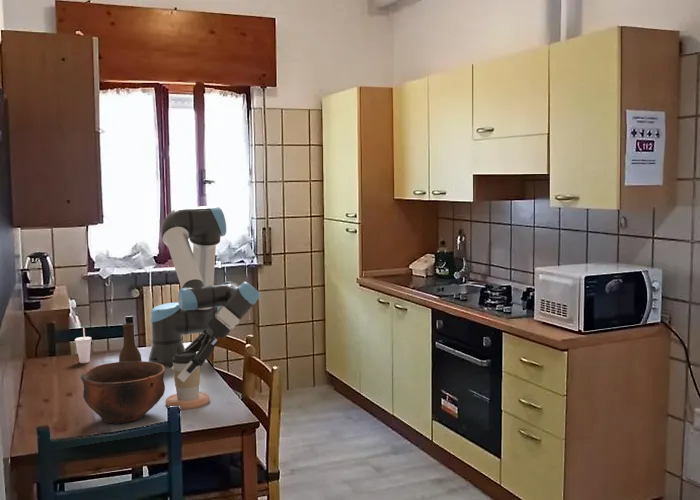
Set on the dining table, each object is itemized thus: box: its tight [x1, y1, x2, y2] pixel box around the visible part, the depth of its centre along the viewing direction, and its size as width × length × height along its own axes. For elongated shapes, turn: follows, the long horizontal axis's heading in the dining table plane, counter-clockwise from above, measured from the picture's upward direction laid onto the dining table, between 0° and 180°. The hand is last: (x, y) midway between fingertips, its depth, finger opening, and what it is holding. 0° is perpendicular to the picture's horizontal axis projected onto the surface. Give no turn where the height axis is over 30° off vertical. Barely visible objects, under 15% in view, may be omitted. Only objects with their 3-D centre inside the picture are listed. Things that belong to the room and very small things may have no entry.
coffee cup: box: [172, 350, 201, 401], centre depth 240 cm, size 9×9×15 cm
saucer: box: [165, 391, 211, 410], centre depth 241 cm, size 14×14×2 cm
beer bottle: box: [118, 322, 143, 362], centre depth 253 cm, size 8×8×24 cm
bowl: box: [80, 360, 166, 424], centre depth 226 cm, size 25×25×15 cm
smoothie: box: [74, 327, 92, 364], centre depth 296 cm, size 6×6×14 cm
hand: (177, 375), depth 239 cm, fingers open, 11 cm apart
